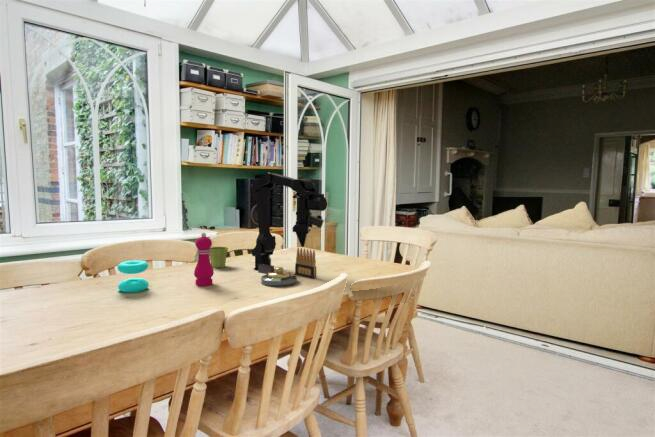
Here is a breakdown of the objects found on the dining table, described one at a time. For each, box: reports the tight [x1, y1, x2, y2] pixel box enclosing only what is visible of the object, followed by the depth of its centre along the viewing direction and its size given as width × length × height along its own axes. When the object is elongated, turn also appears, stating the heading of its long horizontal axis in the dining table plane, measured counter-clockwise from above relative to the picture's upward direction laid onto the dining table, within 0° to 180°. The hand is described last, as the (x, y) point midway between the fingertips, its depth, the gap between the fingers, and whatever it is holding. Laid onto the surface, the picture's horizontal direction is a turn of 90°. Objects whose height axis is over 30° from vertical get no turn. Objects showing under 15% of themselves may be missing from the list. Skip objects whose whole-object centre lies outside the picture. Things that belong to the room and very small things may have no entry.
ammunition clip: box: [294, 247, 317, 280], centre depth 173 cm, size 11×2×12 cm, turn 52°
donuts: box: [117, 259, 149, 293], centre depth 148 cm, size 10×10×10 cm
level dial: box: [257, 264, 291, 279], centre depth 164 cm, size 15×9×4 cm, turn 56°
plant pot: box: [209, 246, 229, 269], centre depth 188 cm, size 9×9×9 cm
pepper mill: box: [193, 232, 215, 287], centre depth 157 cm, size 7×7×20 cm
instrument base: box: [260, 274, 298, 288], centre depth 163 cm, size 14×14×3 cm
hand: (302, 246), depth 171 cm, fingers closed
